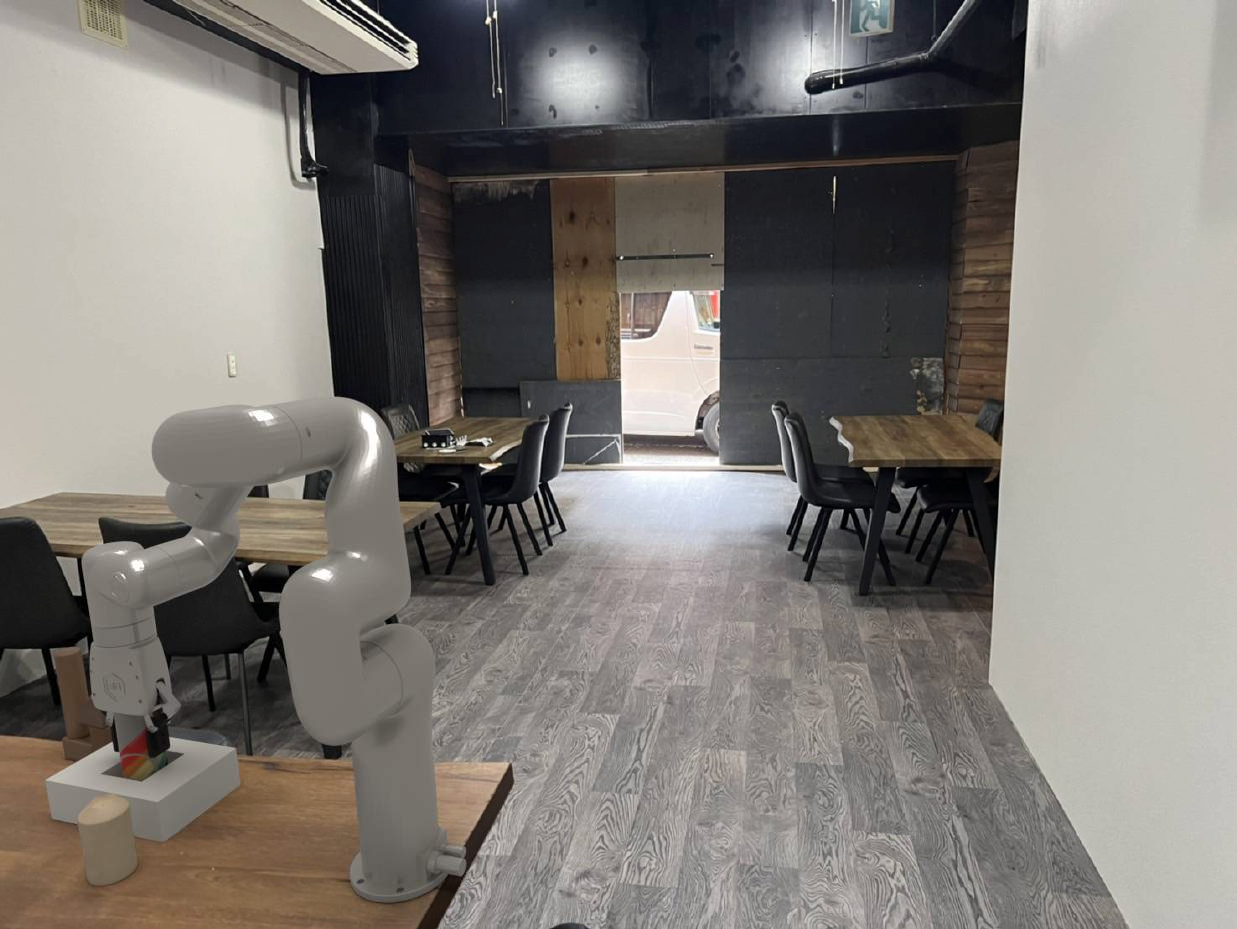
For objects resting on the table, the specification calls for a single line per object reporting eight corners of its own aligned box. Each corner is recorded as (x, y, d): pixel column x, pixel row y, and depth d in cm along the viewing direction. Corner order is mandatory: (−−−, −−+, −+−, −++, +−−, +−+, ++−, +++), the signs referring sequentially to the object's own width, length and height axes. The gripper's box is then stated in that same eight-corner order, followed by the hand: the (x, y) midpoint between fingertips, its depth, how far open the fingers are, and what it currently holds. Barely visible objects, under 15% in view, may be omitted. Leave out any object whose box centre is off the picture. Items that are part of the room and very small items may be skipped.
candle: (101, 892, 99) (89, 818, 97) (78, 877, 102) (66, 805, 100) (146, 866, 103) (136, 795, 102) (124, 852, 106) (113, 783, 105)
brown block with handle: (109, 771, 126) (93, 663, 123) (64, 759, 130) (46, 653, 127) (131, 759, 129) (116, 653, 126) (86, 747, 133) (70, 644, 130)
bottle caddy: (240, 785, 121) (236, 748, 120) (163, 842, 108) (157, 802, 107) (136, 766, 127) (131, 730, 126) (51, 818, 114) (45, 780, 113)
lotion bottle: (139, 812, 114) (120, 679, 110) (118, 800, 117) (99, 670, 113) (179, 792, 118) (162, 664, 115) (158, 781, 121) (141, 655, 118)
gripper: (53, 635, 112) (73, 756, 115) (150, 647, 107) (168, 772, 110) (101, 616, 119) (119, 730, 122) (195, 626, 114) (210, 744, 117)
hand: (142, 749), depth 116 cm, fingers closed on lotion bottle, 5 cm apart
